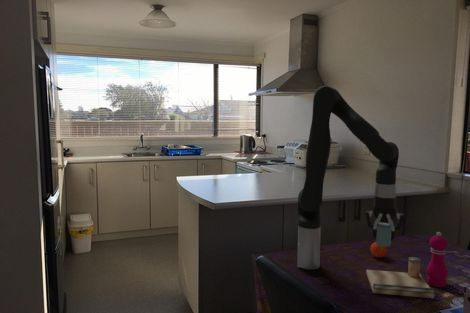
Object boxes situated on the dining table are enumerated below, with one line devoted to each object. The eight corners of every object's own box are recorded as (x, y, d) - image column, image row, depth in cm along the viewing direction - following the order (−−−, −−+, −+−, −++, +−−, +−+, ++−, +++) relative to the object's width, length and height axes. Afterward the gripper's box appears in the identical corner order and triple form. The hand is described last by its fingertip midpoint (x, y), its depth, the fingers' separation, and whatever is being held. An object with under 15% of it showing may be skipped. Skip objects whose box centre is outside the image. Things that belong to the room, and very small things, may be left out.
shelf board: (373, 293, 135) (373, 284, 135) (366, 273, 153) (366, 265, 152) (434, 298, 131) (434, 289, 131) (419, 277, 149) (420, 269, 148)
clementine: (389, 260, 167) (390, 245, 166) (374, 260, 167) (374, 244, 167) (383, 254, 175) (383, 239, 174) (368, 254, 175) (368, 239, 175)
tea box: (376, 245, 142) (376, 227, 141) (376, 239, 149) (377, 222, 148) (390, 246, 140) (391, 228, 139) (390, 241, 147) (390, 223, 146)
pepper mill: (446, 289, 138) (449, 235, 136) (424, 285, 142) (427, 232, 140) (447, 282, 144) (450, 231, 143) (426, 278, 148) (429, 228, 146)
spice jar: (409, 277, 145) (410, 260, 144) (406, 273, 149) (407, 256, 148) (421, 278, 144) (421, 261, 143) (418, 274, 148) (418, 257, 147)
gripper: (405, 194, 144) (403, 238, 145) (365, 192, 149) (364, 234, 150) (406, 198, 137) (404, 244, 138) (364, 195, 142) (363, 240, 143)
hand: (383, 239), depth 144 cm, fingers closed on tea box, 5 cm apart
